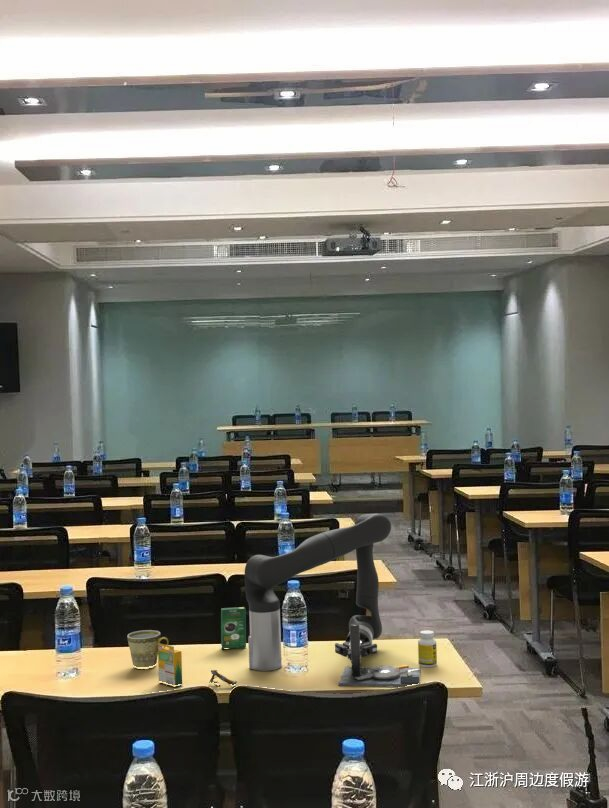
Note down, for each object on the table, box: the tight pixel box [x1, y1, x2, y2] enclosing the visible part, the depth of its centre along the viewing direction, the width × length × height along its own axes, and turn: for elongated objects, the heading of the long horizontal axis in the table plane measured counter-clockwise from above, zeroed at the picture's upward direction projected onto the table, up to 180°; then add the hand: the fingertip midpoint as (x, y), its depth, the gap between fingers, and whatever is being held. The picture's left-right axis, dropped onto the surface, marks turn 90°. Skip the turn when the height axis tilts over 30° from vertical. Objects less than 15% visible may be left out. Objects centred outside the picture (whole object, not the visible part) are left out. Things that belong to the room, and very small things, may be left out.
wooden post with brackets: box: [208, 669, 238, 685], centre depth 239 cm, size 2×8×4 cm, turn 69°
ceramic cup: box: [126, 629, 170, 667], centre depth 260 cm, size 13×10×10 cm
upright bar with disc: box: [349, 624, 410, 680], centre depth 241 cm, size 18×9×15 cm, turn 117°
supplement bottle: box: [417, 629, 438, 668], centre depth 252 cm, size 5×5×10 cm
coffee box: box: [220, 606, 247, 649], centre depth 278 cm, size 8×3×13 cm, turn 103°
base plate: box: [338, 666, 422, 688], centre depth 242 cm, size 22×15×4 cm
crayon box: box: [157, 642, 183, 685], centre depth 242 cm, size 7×3×12 cm, turn 48°
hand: (352, 656), depth 239 cm, fingers closed
